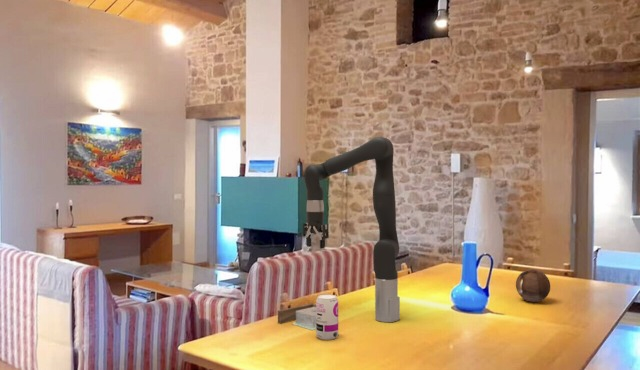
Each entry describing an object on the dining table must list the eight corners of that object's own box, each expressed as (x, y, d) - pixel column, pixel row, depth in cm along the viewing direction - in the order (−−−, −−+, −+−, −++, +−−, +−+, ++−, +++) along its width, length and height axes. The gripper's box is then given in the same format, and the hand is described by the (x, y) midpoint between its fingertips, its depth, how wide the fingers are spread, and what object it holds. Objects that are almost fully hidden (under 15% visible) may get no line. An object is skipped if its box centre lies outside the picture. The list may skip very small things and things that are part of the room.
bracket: (314, 318, 221) (314, 306, 221) (331, 323, 214) (331, 311, 214) (295, 323, 214) (295, 311, 214) (312, 328, 207) (312, 315, 207)
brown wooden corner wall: (334, 320, 219) (334, 308, 219) (299, 330, 206) (299, 317, 206) (312, 314, 229) (311, 302, 229) (277, 323, 216) (277, 310, 216)
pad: (334, 324, 214) (334, 323, 214) (312, 330, 206) (312, 329, 206) (313, 318, 223) (313, 317, 223) (291, 324, 214) (291, 323, 214)
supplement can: (341, 334, 200) (340, 294, 200) (334, 341, 192) (334, 299, 192) (320, 332, 203) (320, 293, 202) (313, 339, 195) (313, 298, 194)
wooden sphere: (544, 298, 257) (544, 267, 257) (554, 305, 242) (555, 272, 242) (512, 297, 259) (512, 266, 258) (520, 305, 244) (520, 272, 243)
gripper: (332, 210, 231) (333, 248, 231) (310, 209, 241) (310, 245, 241) (320, 211, 226) (320, 250, 226) (298, 210, 236) (298, 246, 236)
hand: (315, 247), depth 234 cm, fingers open, 8 cm apart
